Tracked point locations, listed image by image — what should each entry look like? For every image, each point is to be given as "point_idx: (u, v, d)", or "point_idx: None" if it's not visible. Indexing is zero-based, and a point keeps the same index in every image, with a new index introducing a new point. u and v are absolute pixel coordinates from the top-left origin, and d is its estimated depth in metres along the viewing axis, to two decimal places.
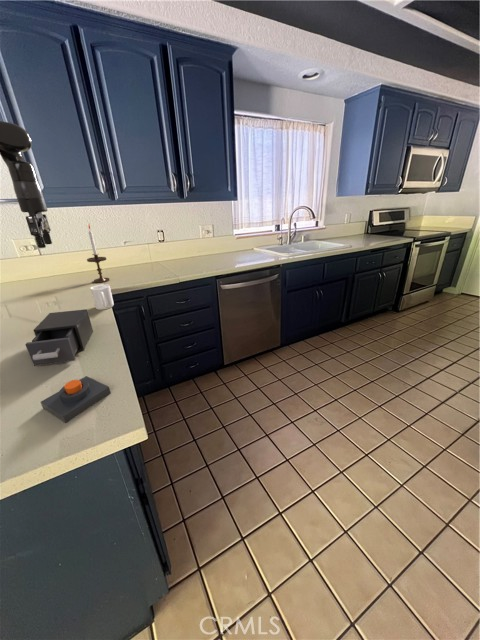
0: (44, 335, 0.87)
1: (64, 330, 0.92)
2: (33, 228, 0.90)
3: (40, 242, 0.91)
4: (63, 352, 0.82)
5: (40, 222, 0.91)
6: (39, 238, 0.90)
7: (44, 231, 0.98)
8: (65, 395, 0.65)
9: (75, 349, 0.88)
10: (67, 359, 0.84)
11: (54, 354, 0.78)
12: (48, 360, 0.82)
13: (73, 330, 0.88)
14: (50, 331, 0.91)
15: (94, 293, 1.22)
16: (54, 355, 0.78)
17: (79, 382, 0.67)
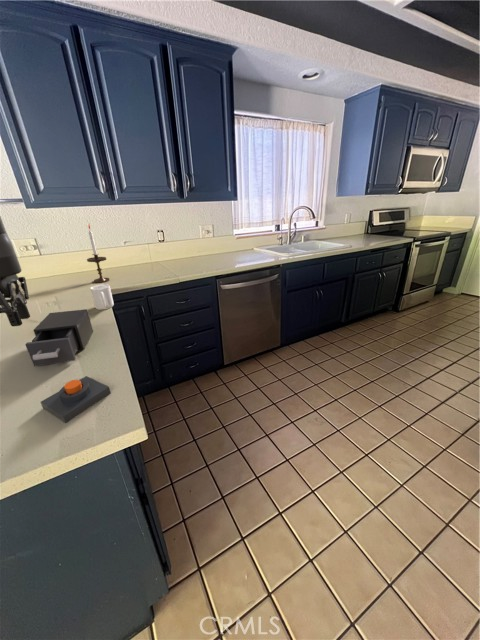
0: (44, 335, 0.87)
1: (64, 330, 0.92)
2: None
3: (13, 320, 0.64)
4: (63, 352, 0.82)
5: (10, 292, 0.63)
6: (11, 315, 0.64)
7: (18, 302, 0.68)
8: (65, 395, 0.65)
9: (75, 349, 0.88)
10: (67, 359, 0.84)
11: (54, 354, 0.78)
12: (48, 360, 0.82)
13: (73, 330, 0.88)
14: (50, 331, 0.91)
15: (94, 293, 1.22)
16: (54, 355, 0.78)
17: (79, 382, 0.67)
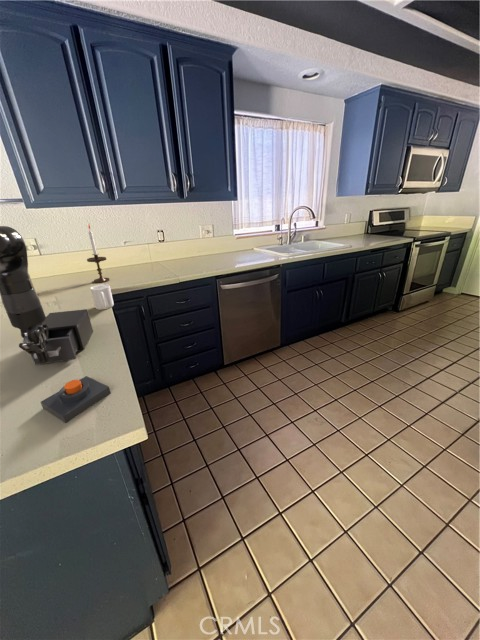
0: None
1: (65, 329, 0.93)
2: None
3: (41, 358, 0.75)
4: (63, 350, 0.83)
5: (37, 338, 0.72)
6: (40, 354, 0.75)
7: None
8: (65, 395, 0.65)
9: (76, 348, 0.89)
10: (68, 358, 0.84)
11: (55, 353, 0.78)
12: (49, 359, 0.83)
13: (74, 329, 0.89)
14: (51, 330, 0.92)
15: (94, 293, 1.22)
16: (55, 354, 0.78)
17: (79, 382, 0.67)
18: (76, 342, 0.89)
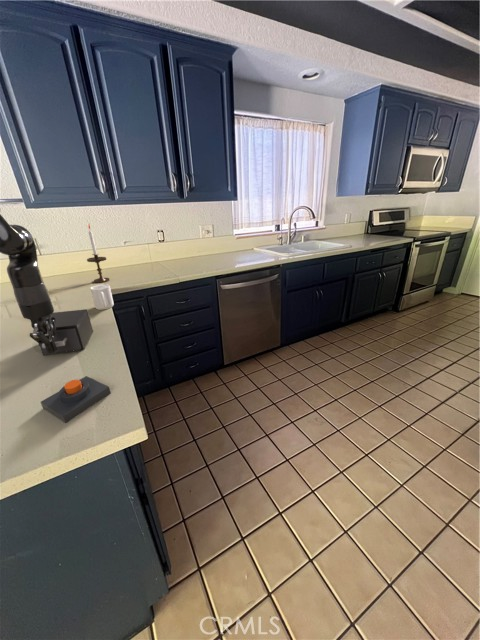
0: None
1: None
2: None
3: (49, 348, 0.80)
4: (69, 341, 0.88)
5: (46, 328, 0.78)
6: (48, 344, 0.80)
7: (47, 338, 0.81)
8: (65, 395, 0.65)
9: None
10: (73, 348, 0.90)
11: (62, 343, 0.84)
12: None
13: None
14: None
15: (94, 293, 1.22)
16: (62, 344, 0.84)
17: (79, 382, 0.67)
18: None
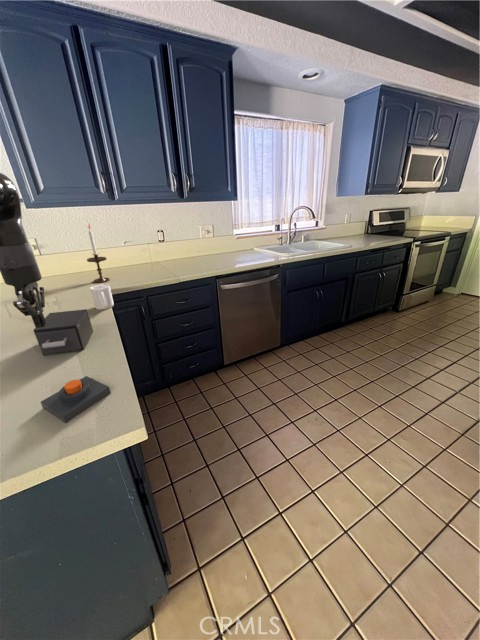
0: None
1: None
2: None
3: (38, 322, 0.70)
4: (69, 341, 0.88)
5: (33, 298, 0.67)
6: (36, 317, 0.70)
7: None
8: (65, 395, 0.65)
9: None
10: (73, 348, 0.90)
11: (62, 343, 0.84)
12: (56, 349, 0.88)
13: None
14: None
15: (94, 293, 1.22)
16: (62, 344, 0.84)
17: (79, 382, 0.67)
18: None
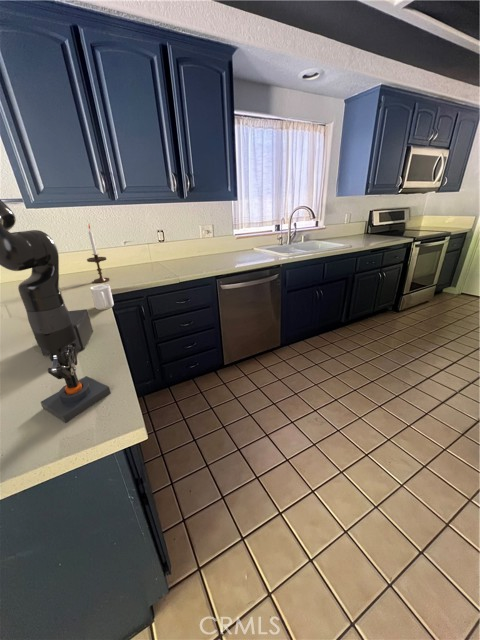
0: None
1: None
2: None
3: (70, 383, 0.65)
4: None
5: (67, 360, 0.62)
6: (69, 378, 0.64)
7: (68, 370, 0.65)
8: (65, 395, 0.65)
9: None
10: None
11: None
12: None
13: None
14: None
15: (94, 293, 1.22)
16: None
17: (80, 384, 0.67)
18: None
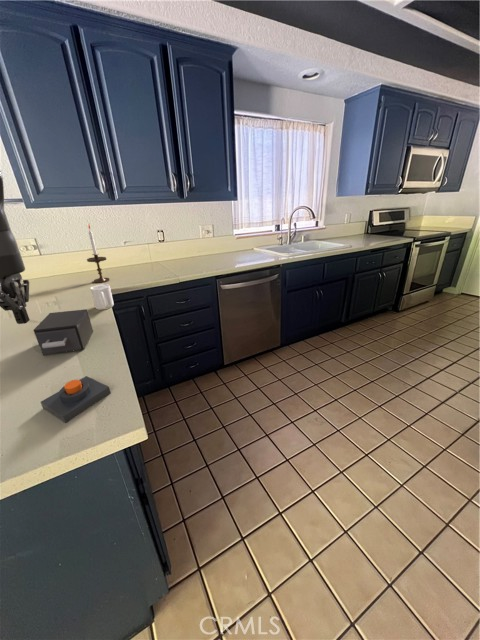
0: None
1: None
2: None
3: (19, 317, 0.64)
4: (69, 341, 0.88)
5: (14, 291, 0.61)
6: (18, 312, 0.63)
7: None
8: (65, 395, 0.65)
9: None
10: (73, 348, 0.90)
11: (62, 343, 0.84)
12: (56, 349, 0.88)
13: None
14: None
15: (94, 293, 1.22)
16: (62, 344, 0.84)
17: (79, 382, 0.67)
18: None
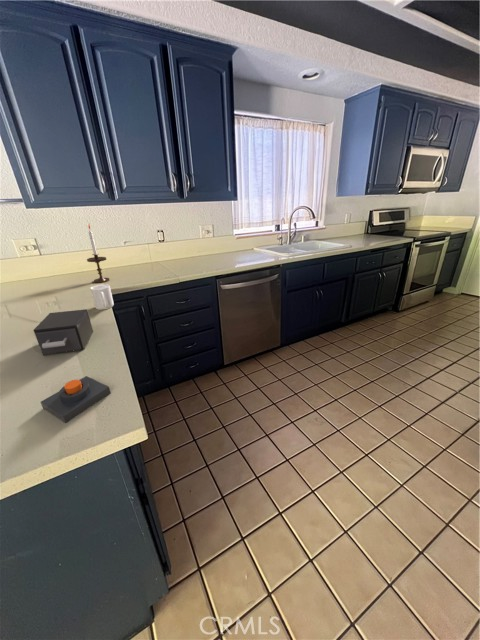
0: None
1: None
2: None
3: None
4: (69, 341, 0.88)
5: None
6: None
7: None
8: (65, 395, 0.65)
9: None
10: (73, 348, 0.90)
11: (62, 343, 0.84)
12: (56, 349, 0.88)
13: None
14: None
15: (94, 293, 1.22)
16: (62, 344, 0.84)
17: (79, 382, 0.67)
18: None
